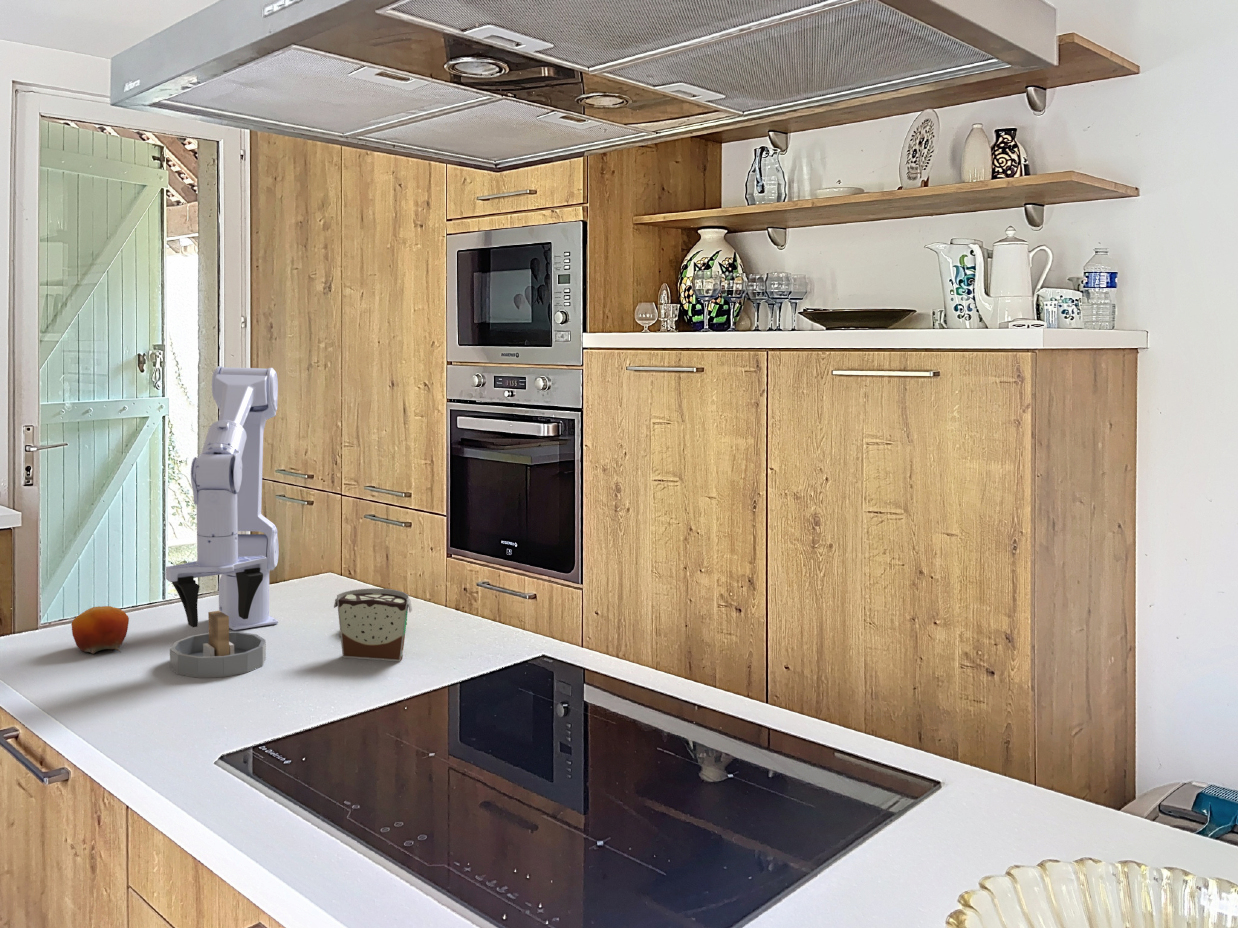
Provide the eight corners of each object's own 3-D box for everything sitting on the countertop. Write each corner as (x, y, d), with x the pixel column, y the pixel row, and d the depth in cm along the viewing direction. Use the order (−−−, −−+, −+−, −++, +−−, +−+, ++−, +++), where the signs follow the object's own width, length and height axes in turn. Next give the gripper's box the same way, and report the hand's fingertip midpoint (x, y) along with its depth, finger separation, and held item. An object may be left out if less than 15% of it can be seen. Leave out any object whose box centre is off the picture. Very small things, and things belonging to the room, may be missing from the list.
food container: (421, 650, 170) (422, 590, 169) (409, 661, 164) (410, 599, 163) (347, 645, 172) (347, 585, 170) (333, 656, 165) (333, 594, 164)
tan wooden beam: (208, 656, 161) (208, 612, 160) (219, 654, 162) (218, 610, 161) (218, 663, 158) (218, 618, 157) (229, 661, 159) (228, 616, 158)
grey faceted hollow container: (159, 659, 161) (159, 640, 160) (244, 645, 169) (244, 627, 169) (189, 683, 151) (189, 663, 151) (278, 666, 160) (278, 647, 159)
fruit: (84, 653, 158) (75, 603, 160) (72, 668, 163) (64, 619, 166) (140, 644, 163) (131, 596, 165) (127, 659, 169) (118, 611, 171)
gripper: (176, 543, 150) (178, 635, 152) (275, 533, 159) (275, 620, 161) (160, 534, 155) (162, 624, 157) (256, 525, 165) (257, 609, 167)
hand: (218, 621), depth 159 cm, fingers open, 7 cm apart
